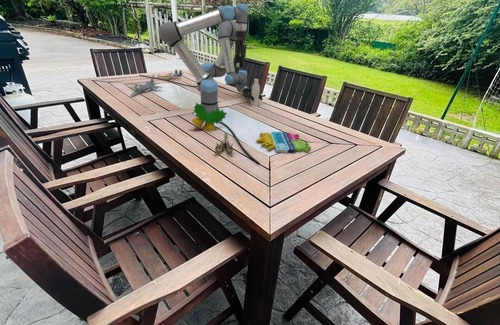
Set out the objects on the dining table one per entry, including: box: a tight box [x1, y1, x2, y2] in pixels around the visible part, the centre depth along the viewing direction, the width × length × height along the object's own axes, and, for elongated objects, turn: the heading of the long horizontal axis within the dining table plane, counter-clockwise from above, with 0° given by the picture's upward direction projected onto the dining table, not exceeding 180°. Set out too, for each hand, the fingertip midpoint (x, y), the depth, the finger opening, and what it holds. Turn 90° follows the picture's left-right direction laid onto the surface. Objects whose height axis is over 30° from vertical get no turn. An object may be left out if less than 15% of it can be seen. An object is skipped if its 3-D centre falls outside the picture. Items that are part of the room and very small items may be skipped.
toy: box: [156, 69, 183, 81], centre depth 280 cm, size 28×7×30 cm
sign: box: [256, 131, 312, 154], centre depth 152 cm, size 26×2×30 cm
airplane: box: [128, 74, 161, 97], centre depth 228 cm, size 38×31×10 cm
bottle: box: [250, 78, 261, 107], centre depth 210 cm, size 6×6×21 cm
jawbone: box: [214, 131, 234, 156], centre depth 136 cm, size 9×15×10 cm
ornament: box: [191, 102, 228, 132], centre depth 162 cm, size 21×8×15 cm, turn 105°
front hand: (239, 66), depth 187 cm, fingers closed on cap, 4 cm apart
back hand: (257, 99), depth 208 cm, fingers closed on bottle, 7 cm apart
